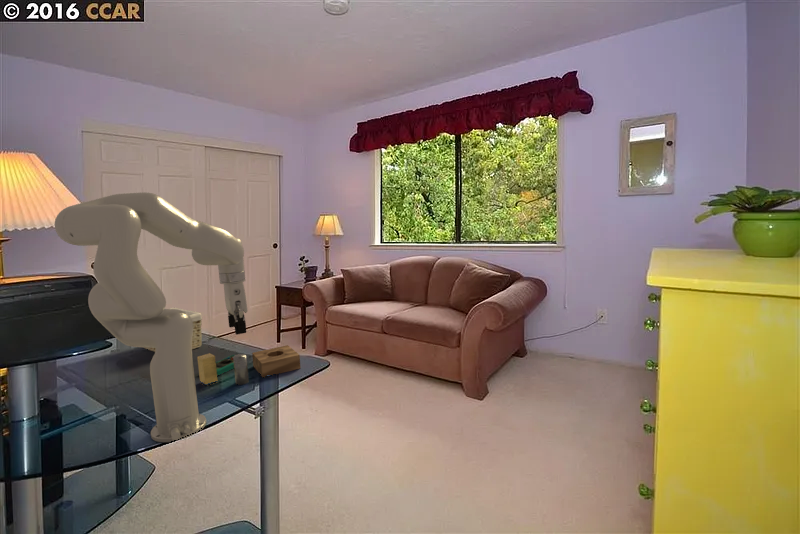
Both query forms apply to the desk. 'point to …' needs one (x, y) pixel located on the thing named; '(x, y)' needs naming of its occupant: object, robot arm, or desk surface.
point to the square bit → (207, 368)
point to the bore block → (276, 360)
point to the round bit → (240, 369)
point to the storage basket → (197, 331)
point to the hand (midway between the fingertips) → (237, 329)
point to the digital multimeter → (225, 365)
